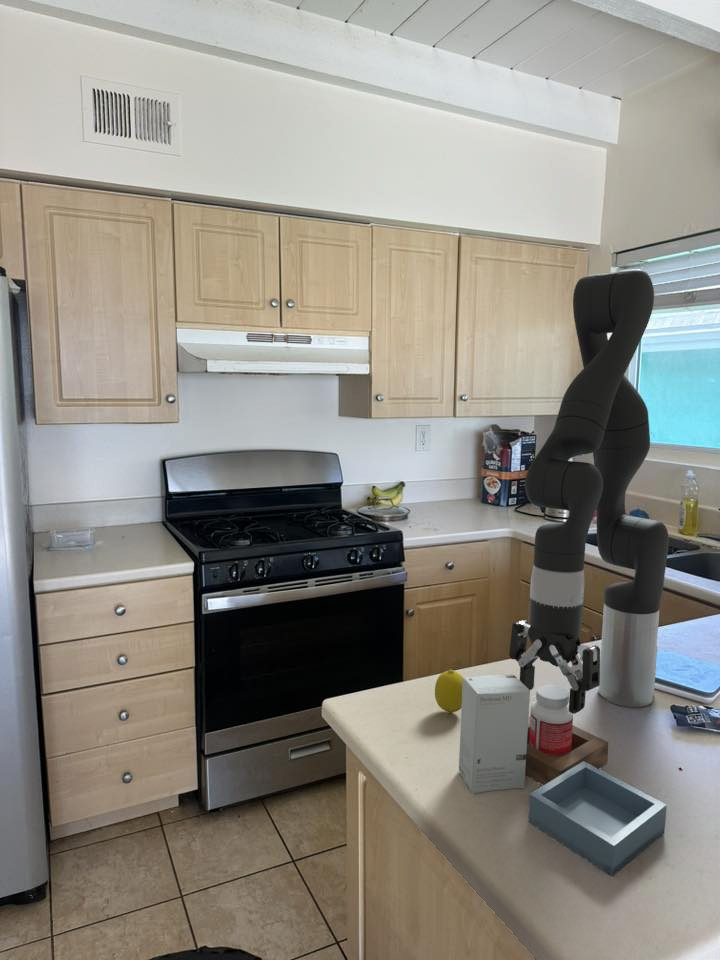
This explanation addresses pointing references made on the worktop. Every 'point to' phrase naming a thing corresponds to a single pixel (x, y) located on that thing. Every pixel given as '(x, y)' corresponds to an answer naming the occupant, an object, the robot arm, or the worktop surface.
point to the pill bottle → (551, 721)
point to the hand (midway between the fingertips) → (550, 700)
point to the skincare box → (493, 732)
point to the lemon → (449, 691)
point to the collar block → (566, 756)
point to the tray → (597, 816)
